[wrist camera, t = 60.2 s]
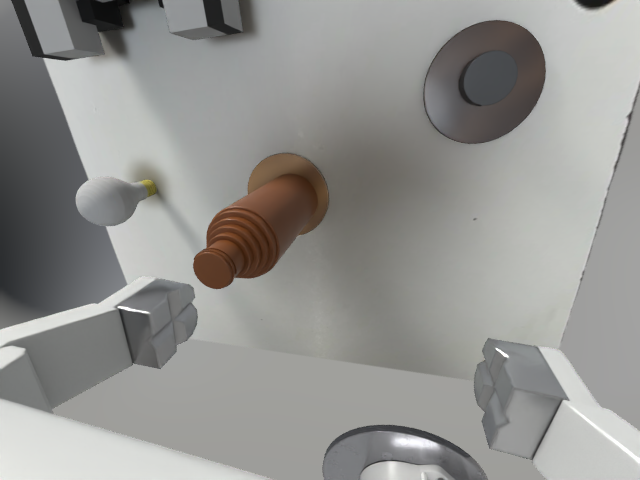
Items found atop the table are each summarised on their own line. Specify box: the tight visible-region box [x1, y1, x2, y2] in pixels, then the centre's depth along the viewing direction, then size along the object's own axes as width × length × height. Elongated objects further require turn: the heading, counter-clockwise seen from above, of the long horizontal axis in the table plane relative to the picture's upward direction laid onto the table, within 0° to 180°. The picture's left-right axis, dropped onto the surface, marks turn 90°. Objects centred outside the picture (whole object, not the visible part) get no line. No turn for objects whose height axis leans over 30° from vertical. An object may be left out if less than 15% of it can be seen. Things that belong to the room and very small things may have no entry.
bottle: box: [193, 174, 318, 289], centre depth 29 cm, size 6×6×18 cm
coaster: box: [248, 153, 329, 235], centre depth 37 cm, size 10×10×1 cm
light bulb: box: [76, 177, 157, 226], centre depth 37 cm, size 6×6×10 cm
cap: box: [459, 50, 518, 106], centre depth 27 cm, size 4×4×2 cm
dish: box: [424, 20, 546, 144], centre depth 28 cm, size 10×10×1 cm
